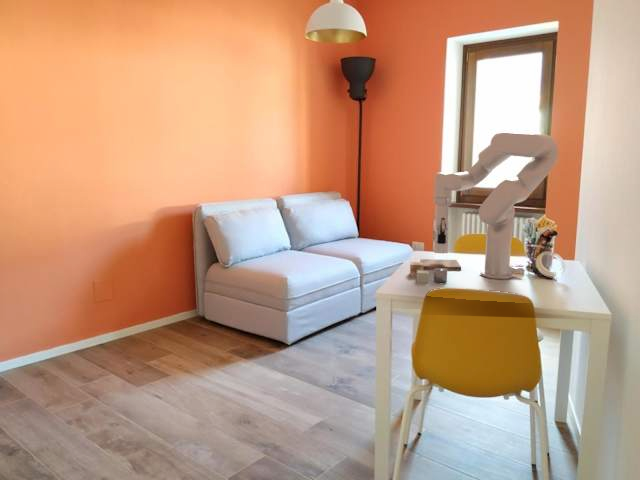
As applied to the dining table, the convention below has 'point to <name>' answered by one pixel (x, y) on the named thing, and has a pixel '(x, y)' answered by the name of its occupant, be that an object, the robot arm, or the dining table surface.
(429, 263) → the walnut board
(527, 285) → the dining table surface
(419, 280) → the sage cube
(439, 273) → the grey tin
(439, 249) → the syrup box
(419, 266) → the oak block
